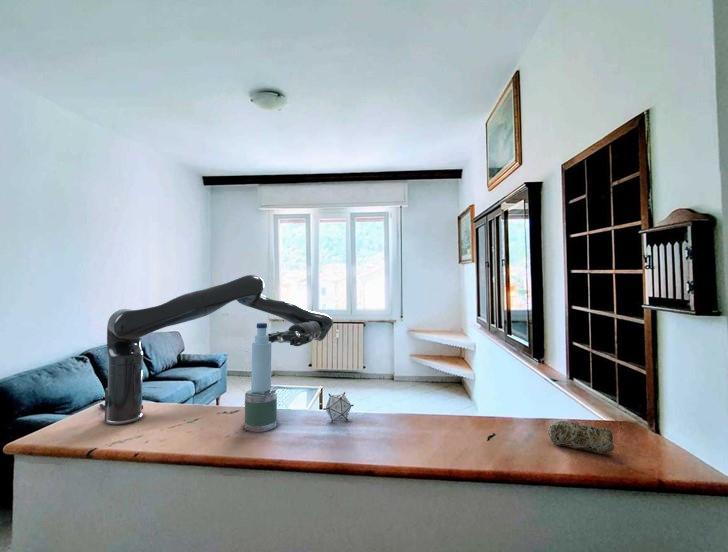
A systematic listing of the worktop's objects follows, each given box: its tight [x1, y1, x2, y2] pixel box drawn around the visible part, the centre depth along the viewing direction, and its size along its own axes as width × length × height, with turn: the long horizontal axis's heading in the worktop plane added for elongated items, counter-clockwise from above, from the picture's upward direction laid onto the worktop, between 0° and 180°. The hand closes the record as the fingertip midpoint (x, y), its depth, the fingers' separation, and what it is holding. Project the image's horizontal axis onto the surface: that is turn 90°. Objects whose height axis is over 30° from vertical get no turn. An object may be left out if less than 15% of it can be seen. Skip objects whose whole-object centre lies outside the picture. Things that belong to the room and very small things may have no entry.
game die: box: [322, 391, 355, 424], centre depth 121 cm, size 9×8×10 cm
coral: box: [547, 419, 615, 455], centre depth 102 cm, size 14×6×6 cm, turn 59°
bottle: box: [250, 322, 272, 393], centre depth 118 cm, size 6×6×20 cm
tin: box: [244, 388, 278, 433], centre depth 117 cm, size 9×9×10 cm
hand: (279, 341), depth 127 cm, fingers open, 8 cm apart
